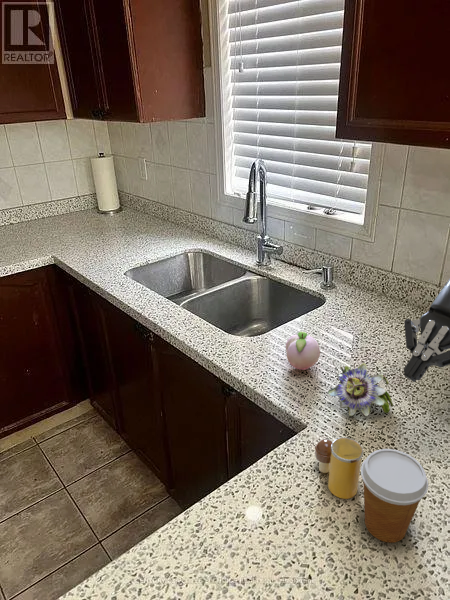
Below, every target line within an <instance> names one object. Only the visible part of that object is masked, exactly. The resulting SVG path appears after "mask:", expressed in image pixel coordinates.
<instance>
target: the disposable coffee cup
mask: <svg viewBox="0 0 450 600" xmlns="http://www.w3.org/2000/svg"><path fill="white" fill-rule="evenodd" d="M360 475H361V476H360V477H361V479H362V482H363V506H364V507H363V509H364V525H365V527H366V529H367V531H368V532H369V533H370V534H371V535H372V536H373V537H374V538H376V539H377V540H379V541H381V542H384V543H390V544H393V543H397V542H400V541H402V540H403V539H404V538H405V536H406V534H407V532H408V529H409V527H410V525H411V522H412V520H413V517H414V516H415V513H416V511H417V508H418V506H419V504H420V502H421V500H422V499H423V498H424V497H425V496H426V495H427V493H428V491H429V481H428V477H427V474H426V471H425V468H424V467H423V466H422V464H421V463H420V462H419V461H418V460H417V459H416V458H415V457H413V456H412V455H410V454H408V453H407V452H404V451H402V450H398V449H392V448H381V449H376V450H375V451H372V452H370V454H369V455H367V457H366V458H365V459H364V460H363V462H361V467H360Z"/></svg>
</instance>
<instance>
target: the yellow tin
mask: <svg viewBox="0 0 450 600" xmlns="http://www.w3.org/2000/svg"><path fill="white" fill-rule="evenodd" d="M363 456H364V449H363V447H362V444H361V443H360V442H358V441H357V440H355V439H354V438H350V437H339V438H336V439H335V440H333V441H332V444H331V459H330V469H329V472H328V481H327V483H328V484H327V488H328V490H329V492H330V493H331V494H332V495H333V496H335V497H336V498H339V499H344V500H349V499H351V498H354V497H355V496H356V495H357V493H358V488H359V480H360V475H361V466H362V459H363Z"/></svg>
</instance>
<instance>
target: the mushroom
mask: <svg viewBox="0 0 450 600" xmlns="http://www.w3.org/2000/svg"><path fill="white" fill-rule="evenodd" d="M332 442H333V441H332V440H330V439H328V438H322V439H321V440H319V441H318V442H317V444H316V445H315V447H314V457H315V459H316V460H317V461H318V471H320V472H321V473H323V474H327V473H328V474H329V469H330V459H331V444H332Z"/></svg>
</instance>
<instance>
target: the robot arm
mask: <svg viewBox="0 0 450 600" xmlns="http://www.w3.org/2000/svg"><path fill="white" fill-rule="evenodd" d="M419 332H420V336H419V338H418V336H417V333H419ZM404 335H405V336H404V337H405V347H406V349H408V350H409V352H410V353H411V358H410V359H408V362H407V363H406V365H405V366H404V368H403V376H404V377H405V378H406V379H408V380H409V381H411V382H412V383H415V382H417V381H420V380H422V378H423V376H424V375H425V374H426V372H427V370H428V369H429V368H430V367H432V366H435V367H438V368H444V367H447V366H450V350H449V349H450V278H448V280H447V281H446V282H445V284H444V286H443V287H442V289H441V290H440V292H439V293H438V294H437V296H436V297H435V298H434V300H433V301H432V303H431V304H430V307H429V309H428V311H427V312H426V313H424V314H422V315H421V317H420V318H419V319H413V320H411V319H410V318H406V319H405V320H404ZM446 350H447V351H446Z"/></svg>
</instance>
